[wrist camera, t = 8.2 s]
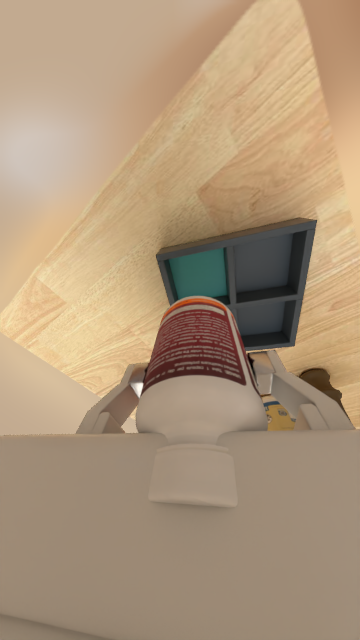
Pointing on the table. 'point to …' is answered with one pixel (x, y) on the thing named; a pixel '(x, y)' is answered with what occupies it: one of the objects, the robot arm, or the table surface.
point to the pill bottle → (198, 403)
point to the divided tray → (247, 277)
